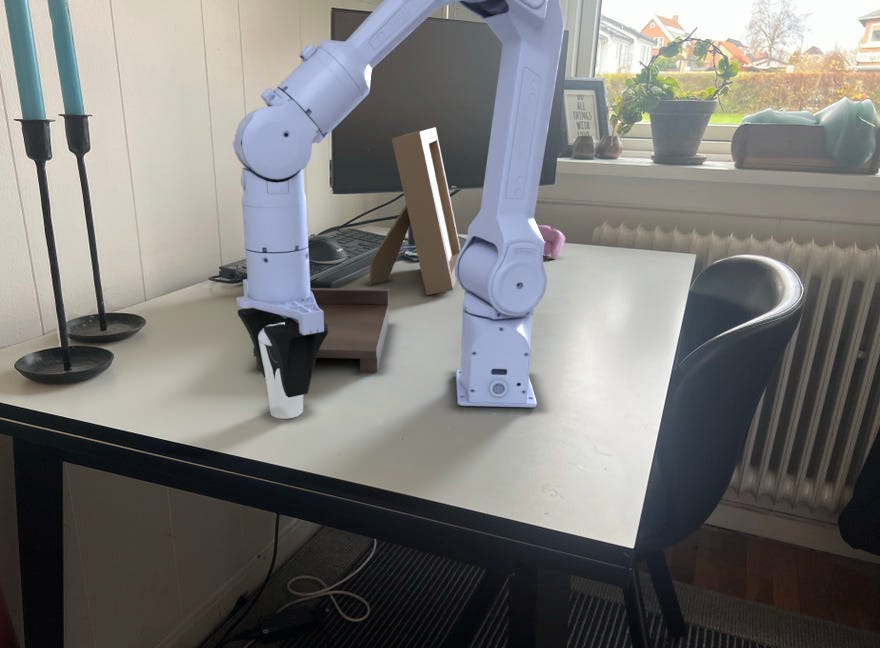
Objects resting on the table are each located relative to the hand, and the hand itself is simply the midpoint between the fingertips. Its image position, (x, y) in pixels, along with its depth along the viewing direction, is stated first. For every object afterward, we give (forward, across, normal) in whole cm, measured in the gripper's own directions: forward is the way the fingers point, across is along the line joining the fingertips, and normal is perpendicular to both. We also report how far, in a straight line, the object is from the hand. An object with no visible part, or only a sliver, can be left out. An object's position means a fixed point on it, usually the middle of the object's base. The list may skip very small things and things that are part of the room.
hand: (285, 385), depth 69 cm
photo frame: (+3, -41, +42) cm, 59 cm away
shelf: (+3, -17, +13) cm, 21 cm away
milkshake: (+3, 0, 0) cm, 3 cm away
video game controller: (+3, -46, +75) cm, 87 cm away
